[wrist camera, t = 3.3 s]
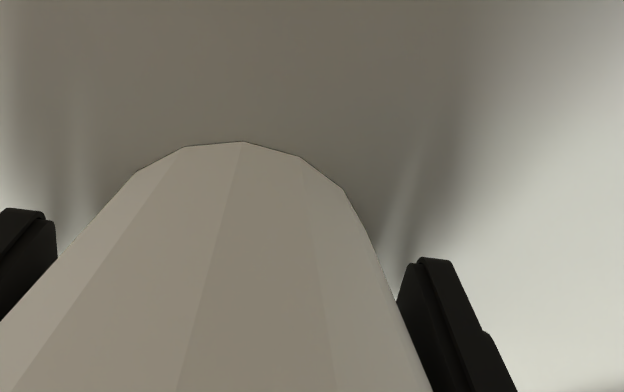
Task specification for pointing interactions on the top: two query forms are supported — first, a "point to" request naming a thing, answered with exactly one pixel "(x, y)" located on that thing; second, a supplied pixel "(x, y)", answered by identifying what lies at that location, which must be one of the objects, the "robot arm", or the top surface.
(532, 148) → the top surface
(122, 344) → the white cup
